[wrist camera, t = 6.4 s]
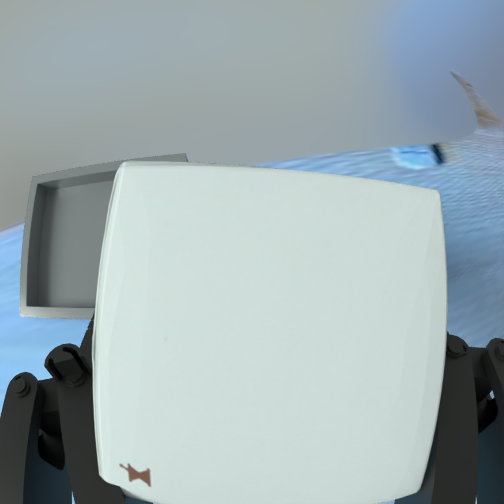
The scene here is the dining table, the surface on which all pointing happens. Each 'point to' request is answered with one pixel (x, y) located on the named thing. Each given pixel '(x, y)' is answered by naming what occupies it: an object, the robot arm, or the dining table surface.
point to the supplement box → (267, 335)
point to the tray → (67, 239)
